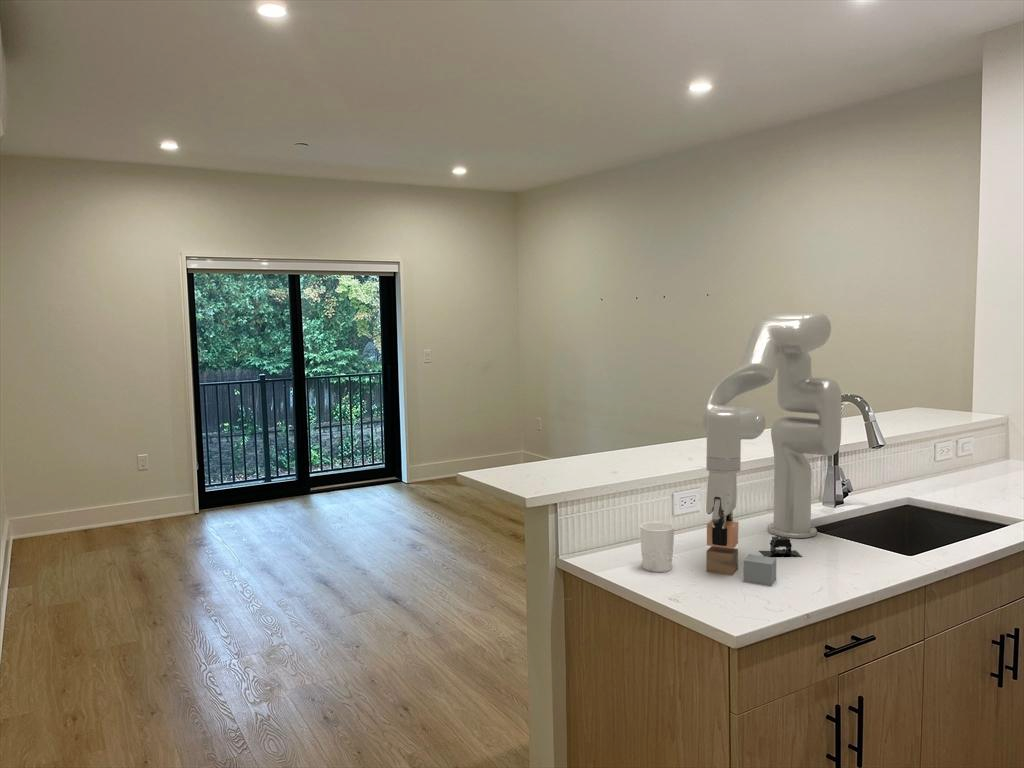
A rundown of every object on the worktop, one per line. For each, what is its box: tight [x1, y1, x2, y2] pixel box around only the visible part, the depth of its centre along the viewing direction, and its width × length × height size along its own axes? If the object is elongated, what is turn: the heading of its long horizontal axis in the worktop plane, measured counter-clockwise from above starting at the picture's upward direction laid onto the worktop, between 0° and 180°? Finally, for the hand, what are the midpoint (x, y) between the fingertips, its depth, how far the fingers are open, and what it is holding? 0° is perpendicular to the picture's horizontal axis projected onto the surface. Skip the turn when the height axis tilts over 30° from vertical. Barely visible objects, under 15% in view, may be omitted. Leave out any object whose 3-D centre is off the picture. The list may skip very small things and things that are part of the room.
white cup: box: [639, 521, 675, 573], centre depth 174 cm, size 8×8×10 cm
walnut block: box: [705, 546, 739, 577], centre depth 171 cm, size 5×6×5 cm
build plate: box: [758, 535, 804, 558], centre depth 183 cm, size 12×7×5 cm, turn 89°
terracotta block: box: [706, 518, 739, 549], centre depth 171 cm, size 5×6×5 cm
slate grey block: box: [742, 553, 777, 587], centre depth 164 cm, size 5×6×5 cm
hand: (722, 540), depth 171 cm, fingers closed on terracotta block, 4 cm apart
